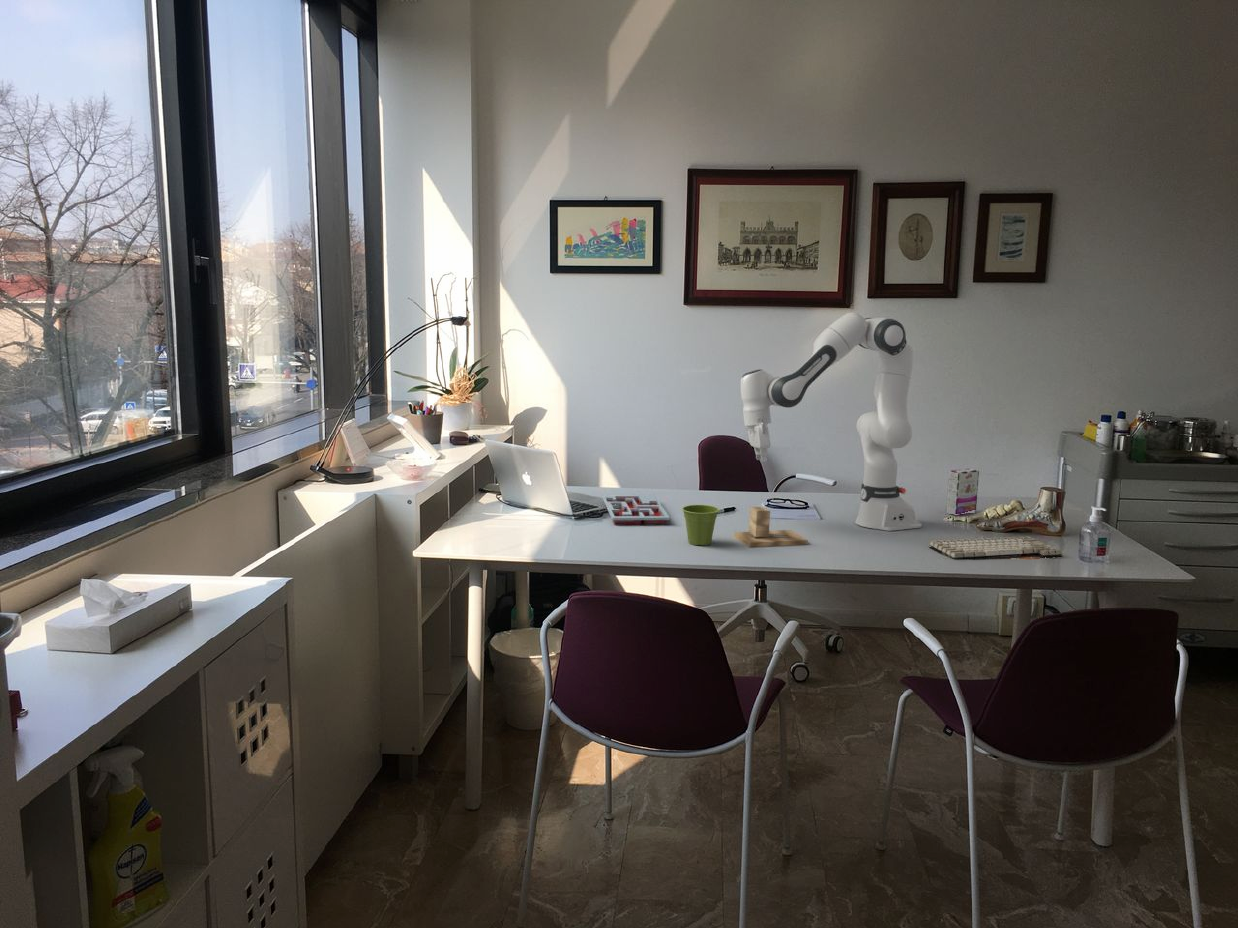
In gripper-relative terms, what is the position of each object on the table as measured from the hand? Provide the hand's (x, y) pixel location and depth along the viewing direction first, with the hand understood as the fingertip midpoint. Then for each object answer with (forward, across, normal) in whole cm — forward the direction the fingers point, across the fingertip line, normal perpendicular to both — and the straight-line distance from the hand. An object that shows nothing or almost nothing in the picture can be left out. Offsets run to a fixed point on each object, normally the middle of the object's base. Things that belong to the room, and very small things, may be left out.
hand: (761, 460), depth 322 cm
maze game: (+16, +23, +44) cm, 52 cm away
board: (+25, -10, +2) cm, 27 cm away
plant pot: (+23, -15, +25) cm, 37 cm away
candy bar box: (+32, +34, -77) cm, 90 cm away
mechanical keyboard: (+37, -18, -67) cm, 79 cm away
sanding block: (+23, -11, +6) cm, 26 cm away
